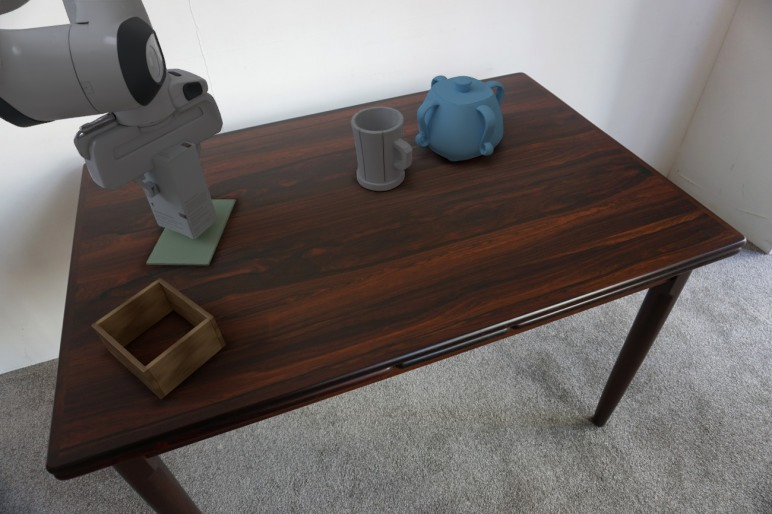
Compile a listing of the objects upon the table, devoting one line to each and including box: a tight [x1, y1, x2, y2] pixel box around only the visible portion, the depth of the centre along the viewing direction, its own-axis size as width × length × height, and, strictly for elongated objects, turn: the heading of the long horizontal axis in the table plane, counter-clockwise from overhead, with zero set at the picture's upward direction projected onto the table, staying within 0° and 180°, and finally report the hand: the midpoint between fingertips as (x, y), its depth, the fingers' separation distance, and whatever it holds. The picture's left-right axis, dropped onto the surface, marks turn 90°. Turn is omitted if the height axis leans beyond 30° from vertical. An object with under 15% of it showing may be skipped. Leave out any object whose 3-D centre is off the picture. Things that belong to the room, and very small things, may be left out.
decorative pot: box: [414, 74, 505, 162], centre depth 98 cm, size 16×16×14 cm
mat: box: [145, 198, 237, 267], centre depth 87 cm, size 16×10×1 cm, turn 177°
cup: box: [350, 105, 413, 192], centre depth 91 cm, size 10×9×12 cm
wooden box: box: [91, 277, 226, 400], centre depth 68 cm, size 10×12×6 cm
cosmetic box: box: [142, 141, 218, 239], centre depth 80 cm, size 8×6×15 cm
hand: (174, 182), depth 80 cm, fingers closed on cosmetic box, 6 cm apart
